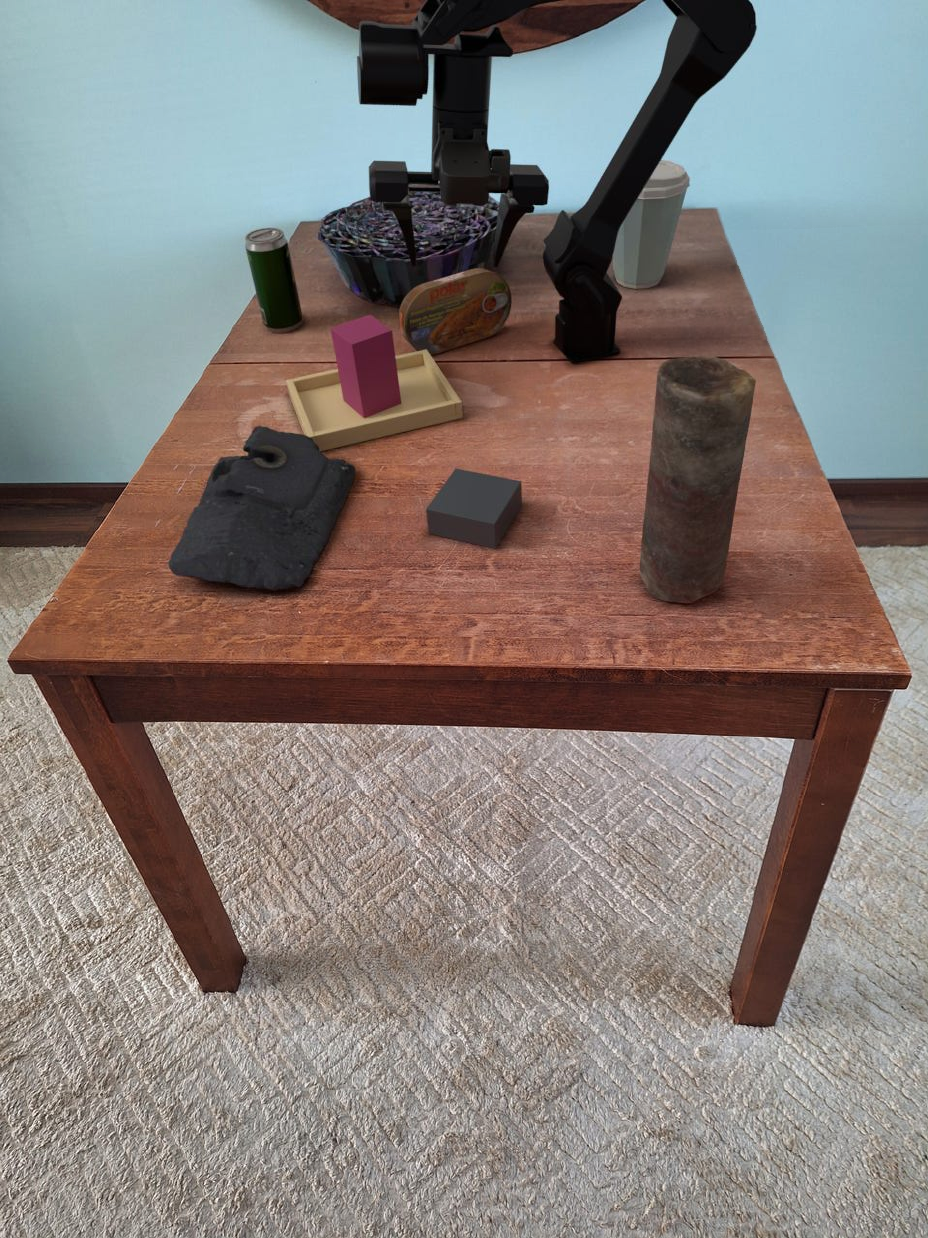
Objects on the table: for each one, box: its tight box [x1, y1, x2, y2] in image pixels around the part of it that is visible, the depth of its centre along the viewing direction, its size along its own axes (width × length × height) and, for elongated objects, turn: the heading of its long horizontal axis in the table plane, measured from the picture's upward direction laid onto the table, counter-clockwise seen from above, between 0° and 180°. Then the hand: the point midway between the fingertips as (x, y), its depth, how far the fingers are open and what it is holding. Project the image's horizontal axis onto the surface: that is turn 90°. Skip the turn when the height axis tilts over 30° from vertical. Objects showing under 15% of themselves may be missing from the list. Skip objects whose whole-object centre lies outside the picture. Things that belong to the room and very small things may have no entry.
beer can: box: [244, 227, 304, 334], centre depth 114 cm, size 5×5×12 cm
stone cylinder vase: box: [639, 355, 757, 604], centre depth 70 cm, size 8×7×20 cm
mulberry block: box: [330, 314, 401, 418], centre depth 98 cm, size 5×5×9 cm
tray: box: [285, 349, 464, 453], centre depth 100 cm, size 18×14×2 cm
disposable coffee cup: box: [612, 159, 691, 290], centre depth 116 cm, size 11×11×15 cm
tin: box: [398, 268, 513, 356], centre depth 108 cm, size 15×3×8 cm, turn 117°
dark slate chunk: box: [168, 425, 357, 591], centre depth 85 cm, size 15×22×5 cm
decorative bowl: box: [317, 191, 500, 308], centre depth 124 cm, size 26×28×10 cm
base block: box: [425, 468, 523, 549], centre depth 84 cm, size 7×7×3 cm
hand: (454, 266), depth 97 cm, fingers open, 9 cm apart
